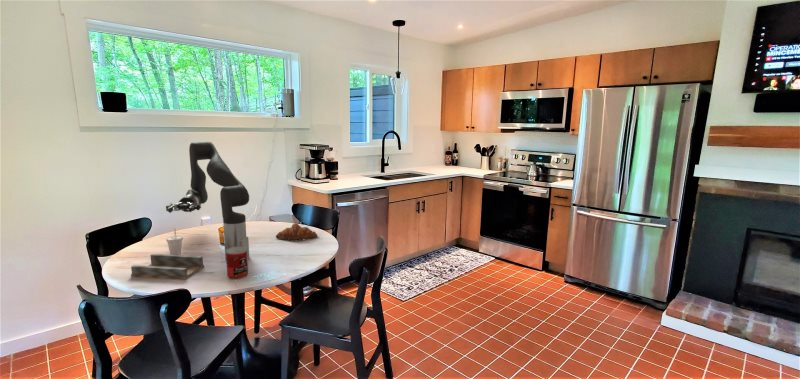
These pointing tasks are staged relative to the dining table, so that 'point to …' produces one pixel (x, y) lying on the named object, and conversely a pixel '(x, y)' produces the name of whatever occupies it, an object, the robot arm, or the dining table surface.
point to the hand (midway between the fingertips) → (179, 210)
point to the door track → (169, 267)
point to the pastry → (296, 233)
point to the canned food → (237, 262)
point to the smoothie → (175, 244)
